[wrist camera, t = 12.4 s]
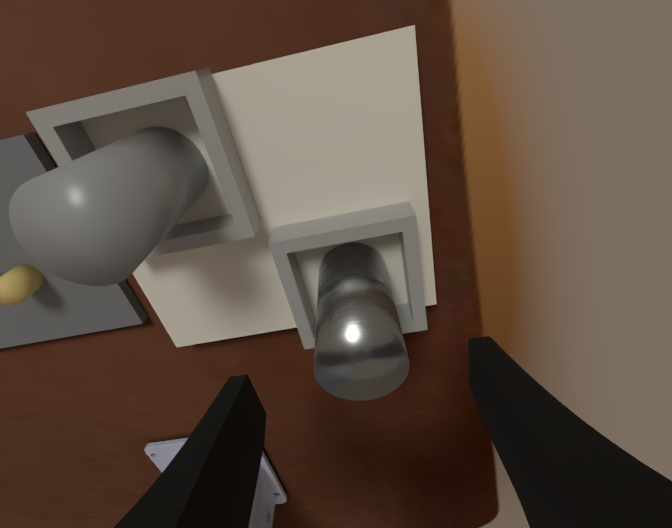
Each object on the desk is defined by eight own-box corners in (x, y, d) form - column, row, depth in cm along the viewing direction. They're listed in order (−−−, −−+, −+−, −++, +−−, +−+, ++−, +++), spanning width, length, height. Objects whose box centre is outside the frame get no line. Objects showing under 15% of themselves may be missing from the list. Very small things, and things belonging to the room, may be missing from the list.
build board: (431, 293, 19) (477, 409, 13) (185, 334, 21) (123, 457, 15) (407, 20, 13) (475, -2, 7) (56, 105, 14) (-150, 151, 8)
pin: (390, 293, 18) (413, 393, 13) (327, 304, 18) (325, 406, 13) (381, 236, 16) (403, 324, 11) (311, 249, 17) (302, 341, 11)
